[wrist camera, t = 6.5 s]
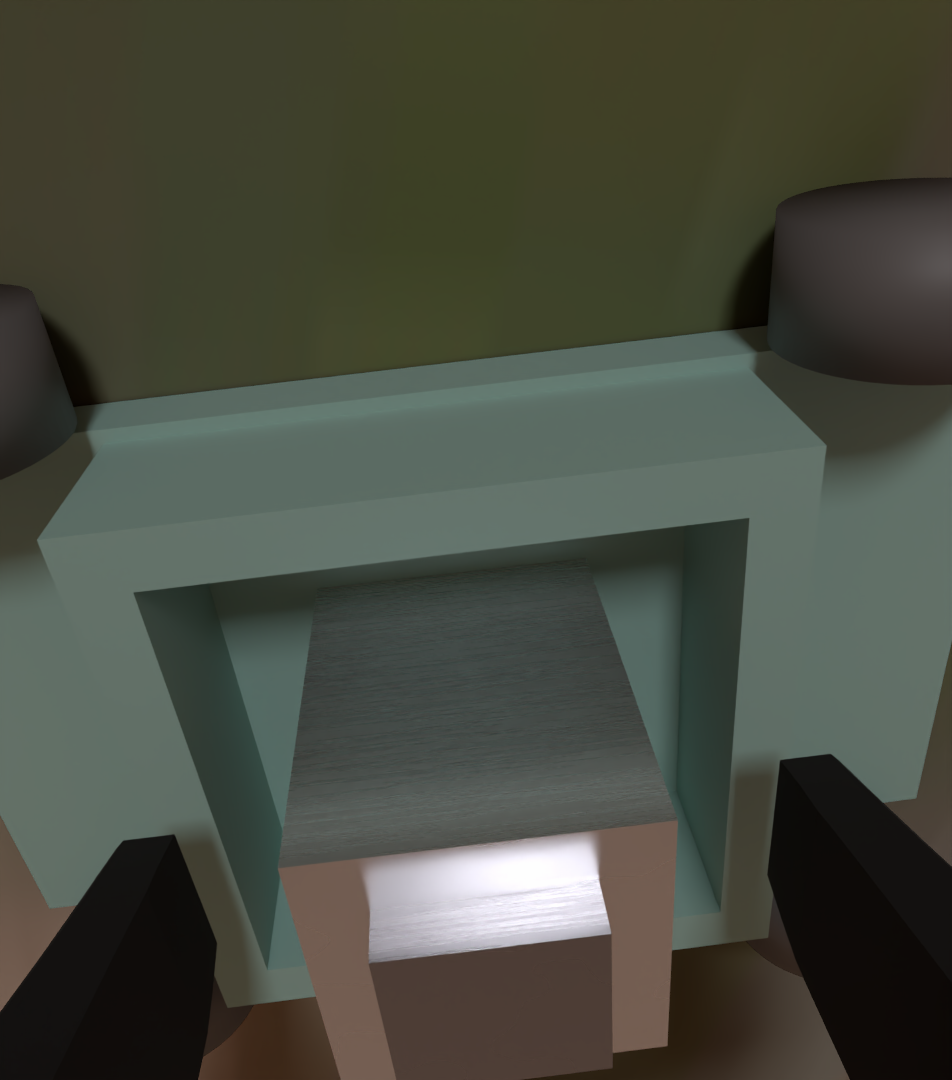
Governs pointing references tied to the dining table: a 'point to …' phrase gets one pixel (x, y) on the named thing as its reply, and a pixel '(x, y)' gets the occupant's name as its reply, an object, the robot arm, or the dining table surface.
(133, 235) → the dining table surface
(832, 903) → the robot arm
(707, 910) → the chassis
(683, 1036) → the dining table surface
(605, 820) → the block
